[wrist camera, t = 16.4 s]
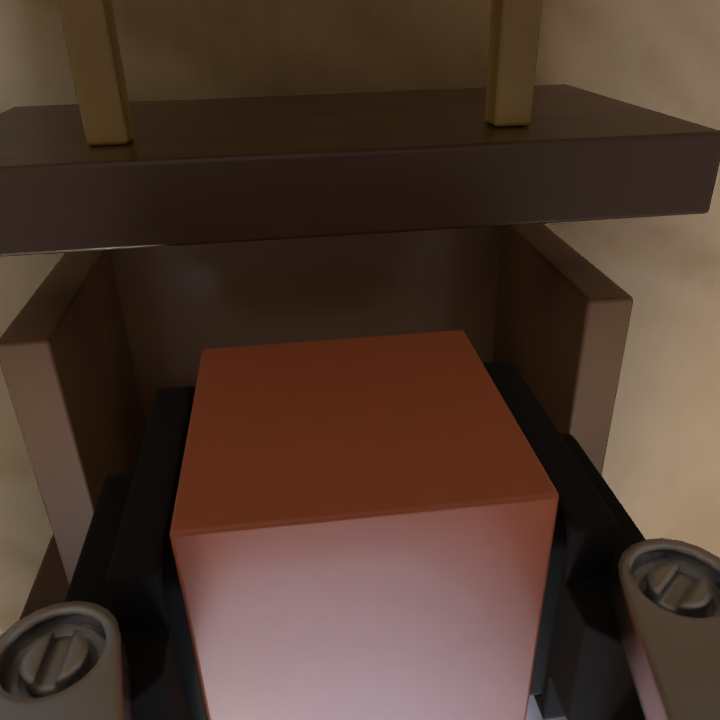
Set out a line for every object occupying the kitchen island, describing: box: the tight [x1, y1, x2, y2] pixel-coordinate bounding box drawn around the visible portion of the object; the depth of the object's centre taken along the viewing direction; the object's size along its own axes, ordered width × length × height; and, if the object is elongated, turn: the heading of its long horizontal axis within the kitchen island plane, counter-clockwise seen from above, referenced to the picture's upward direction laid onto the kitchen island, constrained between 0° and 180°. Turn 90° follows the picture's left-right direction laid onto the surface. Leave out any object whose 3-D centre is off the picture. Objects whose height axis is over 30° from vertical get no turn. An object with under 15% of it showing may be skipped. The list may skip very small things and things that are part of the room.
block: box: [170, 330, 559, 720], centre depth 10 cm, size 4×4×4 cm
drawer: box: [0, 0, 720, 585], centre depth 13 cm, size 20×12×6 cm, turn 1°
